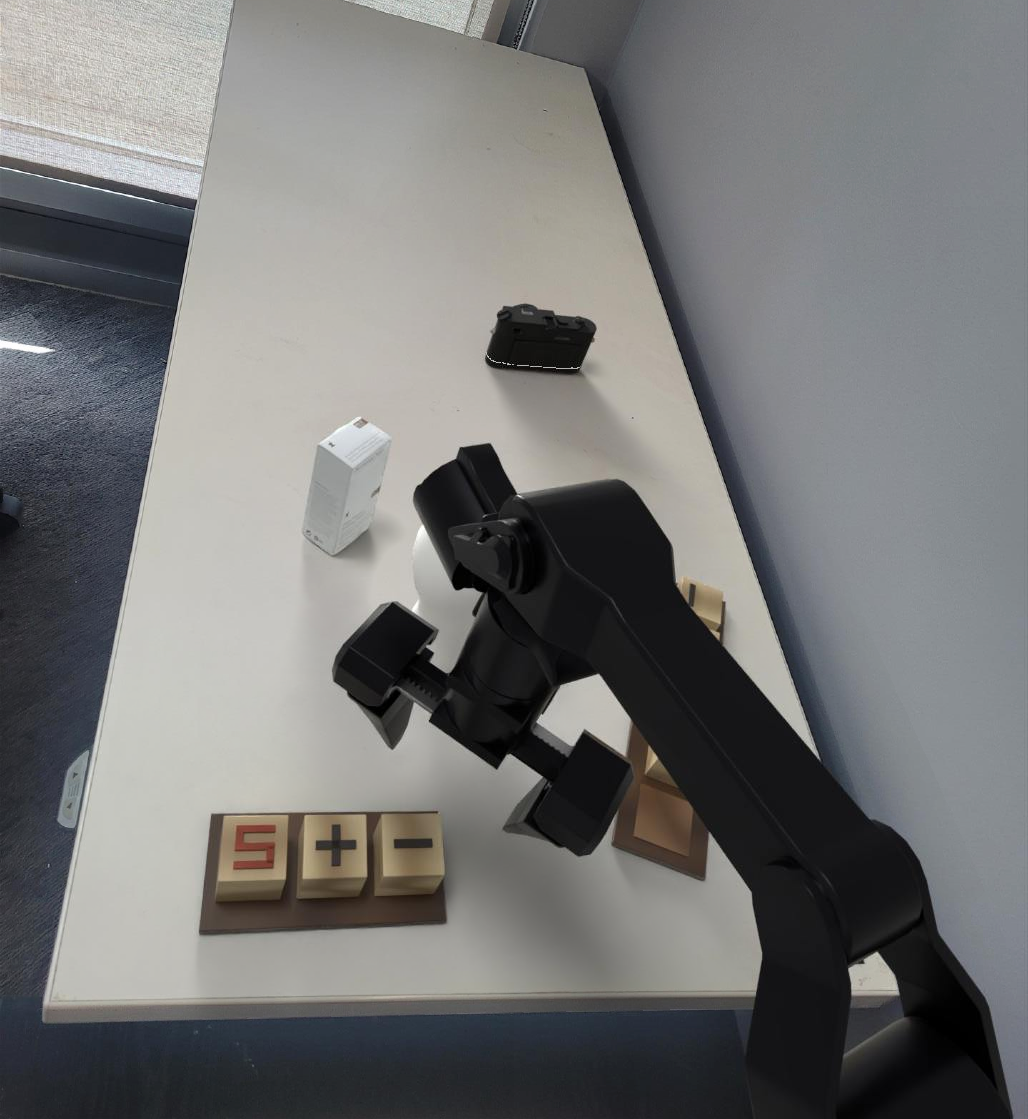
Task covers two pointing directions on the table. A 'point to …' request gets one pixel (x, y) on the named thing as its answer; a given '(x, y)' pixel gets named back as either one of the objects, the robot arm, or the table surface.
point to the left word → (341, 874)
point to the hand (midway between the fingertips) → (450, 783)
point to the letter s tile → (252, 858)
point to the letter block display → (666, 780)
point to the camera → (539, 340)
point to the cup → (441, 603)
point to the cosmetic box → (345, 485)
